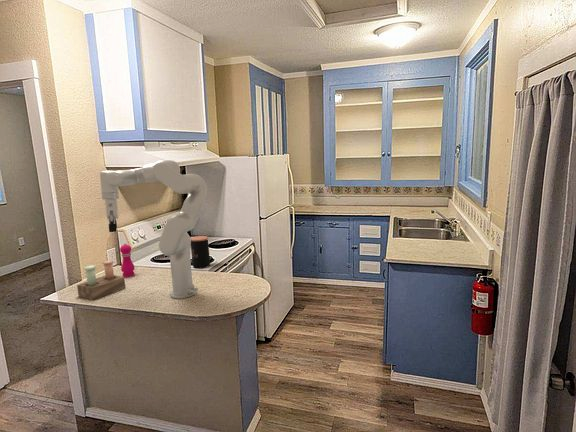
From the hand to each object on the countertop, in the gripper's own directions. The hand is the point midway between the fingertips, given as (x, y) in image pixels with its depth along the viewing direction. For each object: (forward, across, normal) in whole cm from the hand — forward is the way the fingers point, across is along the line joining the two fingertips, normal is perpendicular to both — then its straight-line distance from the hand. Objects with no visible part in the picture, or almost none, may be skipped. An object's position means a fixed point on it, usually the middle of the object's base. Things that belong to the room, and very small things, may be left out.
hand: (113, 229), depth 184 cm
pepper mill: (+33, +26, -5) cm, 42 cm away
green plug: (+28, 0, +11) cm, 30 cm away
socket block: (+33, +3, +7) cm, 34 cm away
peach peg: (+28, +6, +4) cm, 29 cm away
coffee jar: (+32, +23, -46) cm, 61 cm away
